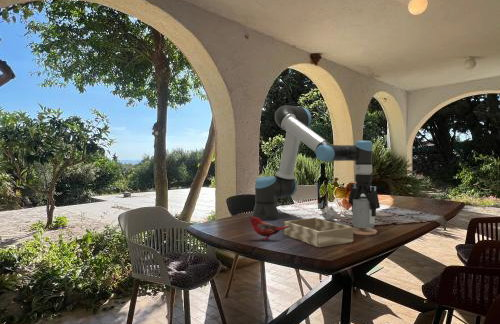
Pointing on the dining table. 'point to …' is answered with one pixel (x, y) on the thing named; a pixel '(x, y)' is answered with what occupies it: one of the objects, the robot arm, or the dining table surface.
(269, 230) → the decorative bird figurine
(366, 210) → the white upright block
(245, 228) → the dining table surface
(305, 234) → the pine crate
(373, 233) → the terracotta tile
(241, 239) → the dining table surface
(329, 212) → the grey rock
